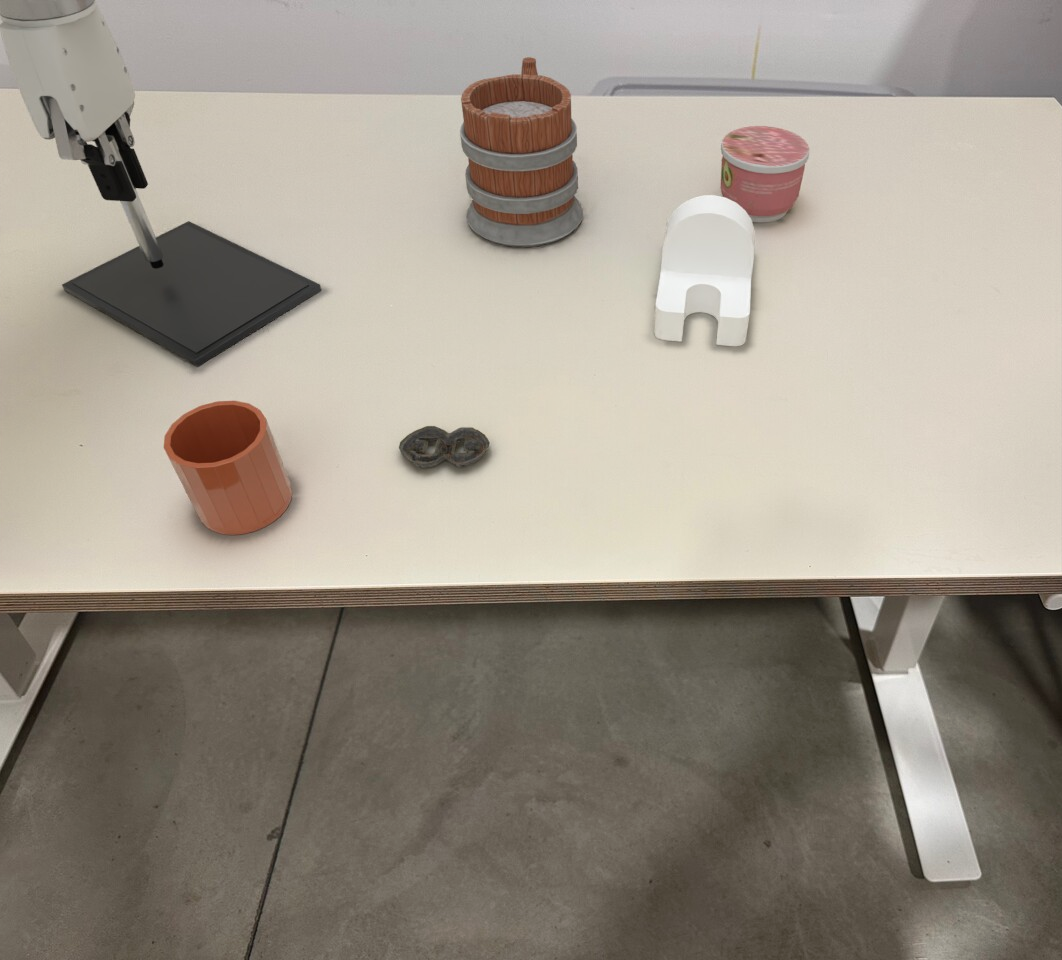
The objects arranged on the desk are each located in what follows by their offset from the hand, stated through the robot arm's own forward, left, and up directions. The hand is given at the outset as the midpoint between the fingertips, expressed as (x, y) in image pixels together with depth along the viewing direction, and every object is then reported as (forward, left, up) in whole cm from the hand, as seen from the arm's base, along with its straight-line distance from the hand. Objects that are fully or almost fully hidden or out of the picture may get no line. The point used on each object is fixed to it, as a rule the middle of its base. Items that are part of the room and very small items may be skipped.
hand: (125, 191), depth 89 cm
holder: (-16, -32, -11) cm, 38 cm away
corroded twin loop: (-2, -42, -11) cm, 44 cm away
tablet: (+1, -3, -11) cm, 12 cm away
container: (+53, -44, -11) cm, 70 cm away
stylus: (0, 0, -9) cm, 9 cm away
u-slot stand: (+33, -48, -11) cm, 60 cm away
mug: (+36, -21, -11) cm, 43 cm away
